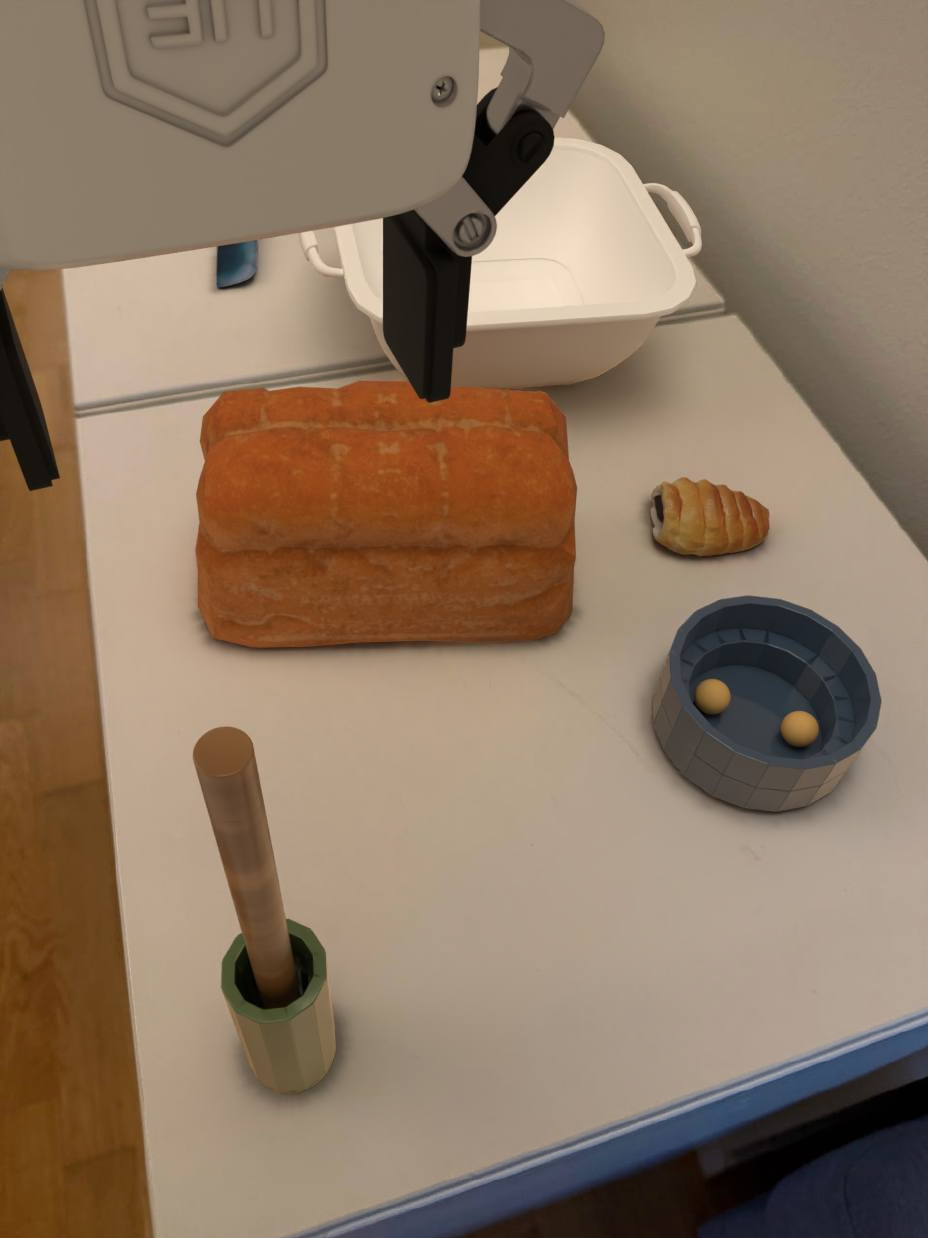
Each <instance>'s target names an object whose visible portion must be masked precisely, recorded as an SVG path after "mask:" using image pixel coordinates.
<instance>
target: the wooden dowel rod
mask: <svg viewBox="0 0 928 1238" xmlns="http://www.w3.org/2000/svg"><path fill="white" fill-rule="evenodd" d="M192 760H193V765H194V769H195V771H196V775H197V779H198V782H199V786H200V790H201V793H202V797H203V800H204V803H205V807H206V811H207V814H208V818H209V821H210V825H211V828H212V832H213V836H214V840H215V842H216V846H217V849H218V853H219V857H220V861H221V864H222V868H223V872H224V874H225V878H226V881H227V886H228V889H229V892H230V895H231V899H232V903H233V906H234V910H235V913H236V917H237V920H238V924H239V927H240V931H241V933H242V935H243V938H244V942H245V945H246V949H247V953H248V956H249V960H250V963H251V967H252V970H253V974H254V977H255V981H256V984H257V988H258V991H259V995H260V999H261V1002H262V1006H263V1009H273V1008H283V1007H286V1006H288V1005H289V1004H291V1003H292V1002H294V1001H295V1000H297V999H298V998H299V997H301V995H300V991H299V986H298V981H297V975H296V970H295V965H294V959H293V954H292V949H291V943H290V938H289V933H288V927H287V922H286V919H287V917H286V912H285V905H284V901H283V895H282V891H281V885H280V879H279V874H278V870H277V864H276V859H275V853H274V848H273V843H272V842H273V841H272V836H271V832H270V828H269V827H270V826H269V821H268V816H267V811H266V806H265V802H264V801H265V800H264V794H263V789H262V784H261V779H260V773H259V769H258V762H257V757H256V753H255V747H254V742H253V741H252V738H251V737H250V736H249V734H247V733H246V732H245V731H244V730H242V729H240V728H237V727H234V726H219V727H215V728H212V729H210V730H208V731H207V732H205V733H203V734H202V735H201V736H200V737H199V738H198V740H197V741H196V743H195V744H194V747H193V750H192Z"/></svg>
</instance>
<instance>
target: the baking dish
mask: <svg viewBox="0 0 928 1238" xmlns="http://www.w3.org/2000/svg"><path fill="white" fill-rule="evenodd" d="M554 137H555V139H554V146H553V149H552V151H551V154H550V155H549V157H548V158H547V160H546V161H545V162H544V163H543V164H542V166H541V167H540V168H539V169H538V170H537V171H536V172H535V173H534V174H533V175H532V176H531V178H530V179H529V180H528V181H527V182H526V183H525V184H524V185H523V186H522V187H521V188H520V190H519V191H518V192H517V193H516V194H515V195H514V196H513V197H512V198H511V199H510V200H509V202H508V203H507V204H506V205H505V206H504V207H503V208H502V209H501V210H500V211H499V212H498V214H497V215H496V216H495V218H496V222H497V229H496V235H495V237H494V239H493V241H492V242H491V244H490V245H489V246H488V247H487V248H486V249H485V250H484V251H482V252H481V253H479V254H477V255H474V256H472V265H471V278H470V291H469V304H468V317H467V330H466V339H465V343H464V345H463V346H461V347H457V348H453V362H452V377H451V387H463V386H464V387H480V388H495V389H507V390H515V389H526V388H539V387H540V388H541V387H551V386H565V385H573V384H577V383H580V382H584V381H586V380H592V379H596V378H598V377H599V376H601V375H603V374H605V373H606V372H608V371H610V370H612V369H614V368H615V367H617V366H618V365H620V364H621V363H623V362H624V361H625V360H626V359H628V358H629V357H630V356H631V355H632V354H633V353H635V352H636V351H638V350H639V349H640V348H641V347H642V345H643V344H644V342H645V341H646V340H647V339H648V337H649V336H650V335H651V333H652V332H653V330H654V329H655V327H656V326H657V324H658V322H659V321H660V319H661V317H663V316H668V315H671V314H674V312H676V311H678V310H680V309H681V308H683V307H684V306H686V305H687V304H689V303H690V301H691V298H692V296H693V294H694V293H695V290H696V289H697V285H698V284H697V281H696V276H695V273H694V267H693V265H692V264H691V261H690V260H689V259H688V258H692V257H695V256H697V255H698V254H699V253H700V252H701V251H702V246H703V242H702V229H701V228H702V227H701V226H700V223H699V221H698V218H697V216H696V215H695V213H694V211H693V209H692V208H691V206H690V205H689V203H688V201H686V199H685V198H684V197H683V196H682V195H681V194H680V193H679V191H676V190H672V189H671V188H669V187H668V186H667V185H664V184H662V183H656V182H648V183H643V182H642V180H641V179H640V177H639V175H638V174H637V172H636V169H634V167H633V166H632V165H631V164H630V162H629V161H628V160H627V159H625V157H623V156H622V154H620V153H618V152H616V151H615V150H612V149H610V148H609V147H606V146H605V145H603V144H600V143H596V142H592V141H588V140H584V139H580V138H573V137H572V138H568V137H557V136H554ZM649 193H653V194H655V195H658V196H660V197H661V198H662V199H663V200H664V202H665V203H667V210H668V211H669V212H670V213H671V215H672V216H673V217H674V219H675V221H676V222H677V223H678V225H679V227H680V229H681V230H682V232H683V233H684V236H685V238H686V240H687V242H688V243H691V244H692V246H690V247H688V248H684V249H682V247H681V245H680V243H679V242H678V240H677V239H676V237H675V236H674V234H673V232H672V230H671V228H670V227H669V225H668V223H667V221H666V220H665V219H664V217H663V215H662V213H661V212H660V210H659V209H658V207H657V206H656V203H655V202H654V200H653V199H652V197H651V195H650V194H649ZM332 229H333V234H334V238H335V242H336V248H337V250H338V251H337V252H338V257H339V260H340V265H341V268H338V267H331V266H329V265H327V264H325V263H324V262H323V260H322V259H321V257H320V255H319V247H318V241H317V239H316V235H315V232H314V231H315V230H314V231H308V232H302V233H298V238H299V243H300V247H301V250H302V253H303V255H304V257H305V260H306V261H307V262H309V264H310V266H311V267H312V268H313V270H314V271H315V272H316V273H317V274H318V275H321V276H322V277H326V278H334V279H335V278H337V279H338V278H339V279H344V283H345V287H346V291H347V294H348V295H349V298H350V299H351V301H352V303H353V304H354V306H355V308H356V309H357V310H359V311H360V313H363V314H364V315H366V316H367V317H369V318H370V322H371V326H372V328H373V331H374V334H375V336H376V339H377V342H378V343H379V345H380V348H381V349H382V350H383V352H384V354H385V355H386V357H387V358H388V360H389V361H390V362H391V364H392V365H393V367H394V368H395V369H396V370H397V371H398V372H399V373H401V374H402V375H403V376H404V377H405V378H407V377H406V375H405V374H404V372H403V370H402V369H401V367H400V365H399V364H398V362H397V360H396V359H395V357H394V355H393V354H392V352H391V350H390V349H389V347H388V345H387V343H386V341H385V339H384V335H383V218H381V219H376V220H370V221H365V222H359V223H354V224H349V225H343V226H338V227H332Z"/></svg>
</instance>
